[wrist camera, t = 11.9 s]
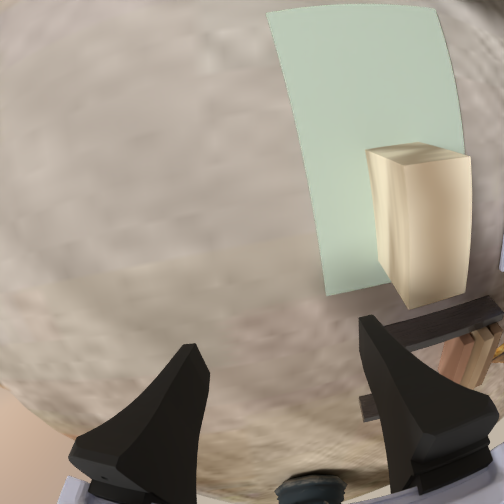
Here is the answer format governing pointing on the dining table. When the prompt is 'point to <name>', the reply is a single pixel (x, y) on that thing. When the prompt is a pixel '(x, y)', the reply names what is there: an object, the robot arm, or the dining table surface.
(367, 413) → the rack
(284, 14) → the rubber mat
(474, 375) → the offcut stack
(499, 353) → the shard
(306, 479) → the lantern
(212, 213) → the dining table surface
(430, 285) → the birch block
